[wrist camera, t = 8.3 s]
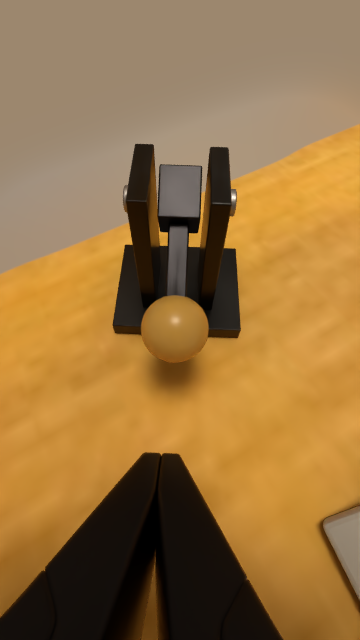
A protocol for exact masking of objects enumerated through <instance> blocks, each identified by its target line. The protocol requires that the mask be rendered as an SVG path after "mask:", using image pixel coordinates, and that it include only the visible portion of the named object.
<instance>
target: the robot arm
mask: <svg viewBox="0 0 360 640" xmlns="http://www.w3.org/2000/svg"><path fill="white" fill-rule="evenodd" d="M155 554H156V603H157V633H158V640H283V638H282V636H281V635H280V633H279V632H278V630H277V628H276V627H275V625H274V623H273V621H272V620H271V618H270V616H269V615H268V613H267V611H266V610H265V608H264V606H263V604H262V603H261V601H260V599H259V597H258V596H257V594H256V592H255V590H254V588H253V587H252V585H251V583H250V581H249V580H246V579H247V576H246V574H245V572H244V571H243V569H242V567H241V565H240V563H239V562H238V560H237V558H236V556H235V554H234V553H233V551H232V549H231V547H230V545H229V543H228V542H227V540H226V538H225V536H224V534H223V533H222V531H221V529H220V527H219V525H218V524H217V522H216V520H215V518H214V516H213V514H212V513H211V511H210V509H209V507H208V505H207V504H206V502H205V500H204V498H203V496H202V495H201V493H200V491H199V489H198V487H197V485H196V484H195V482H194V480H193V478H192V476H191V475H190V473H189V471H188V469H187V467H186V466H185V464H184V462H183V460H182V458H181V457H180V455H179V454H172V453H164V454H162V456H161V454H160V453H147V452H146V453H143V454H142V455H141V456H140V458H139V459H138V460H137V461H136V462H135V463H134V465H133V466H132V467H131V468H130V469H129V470H128V472H127V473H126V474H125V475H124V476H123V477H122V479H121V480H120V481H119V482H118V483H117V484H116V485H115V487H114V488H113V489H112V490H111V491H110V492H109V494H108V495H107V496H106V497H105V498H104V499H103V501H102V502H101V503H100V504H99V505H98V506H97V508H96V509H95V510H94V511H93V512H92V513H91V515H90V516H89V517H88V518H87V519H86V520H85V522H84V523H83V524H82V525H81V526H80V527H79V529H78V530H77V531H76V532H75V533H74V534H73V536H72V537H71V538H70V539H69V540H68V541H67V543H66V544H65V545H64V546H63V547H62V548H61V550H60V551H59V552H58V553H57V554H56V555H55V557H54V558H53V559H52V560H51V561H50V562H49V564H48V565H47V566H46V567H45V571H41V572H40V574H39V575H38V576H37V577H36V578H35V580H34V581H33V582H32V583H31V584H30V585H29V587H28V588H27V589H26V590H25V591H24V592H23V593H22V594H21V596H20V597H19V598H18V599H17V600H16V601H15V602H14V603H13V604H12V606H11V607H10V608H9V609H8V610H7V611H6V612H5V613H4V614H3V616H2V617H1V618H0V640H141V636H142V630H143V625H144V619H145V614H146V608H147V603H148V598H149V592H150V587H151V581H152V576H153V570H154V563H155Z"/></svg>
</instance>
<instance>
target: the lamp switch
mask: <svg viewBox="0 0 360 640" xmlns="http://www.w3.org/2000/svg"><path fill="white" fill-rule="evenodd" d="M201 186H202V166H190V165H189V166H188V165H162V164H161V165H160V167H159V190H158V213H157V217H158V222H159V227H160V232H168V249H167V273H166V296H165V297H162V298H160V299H158V300H156V301H155V302H154V303H152V304H151V305H150V306H149V308H148V309H147V310H146V312H145V314H144V316H143V319H142V323H141V334H142V338H143V341H144V344H145V345H146V347H147V349H148V350H149V351H150V352H151V353H152V354H153V355H154V356H156V357H157V358H159V359H161V360H163V361H167V362H183V361H186V360H189V359H191V358H192V357H194V356H195V355H197V354H198V353H199V352H200V351H201V349H202V348H203V347H204V345H205V343H206V340H207V337H208V331H209V325H208V320H207V317H206V315H205V312H204V311H203V309H202V308H201V307H200V306H199V305H198V304H197V303H196V302H195V301H193V300H192V299H190V298H188V297H186V296H187V269H188V243H189V233H198V229H199V223H200V214H201Z"/></svg>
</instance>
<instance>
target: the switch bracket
mask: <svg viewBox="0 0 360 640" xmlns="http://www.w3.org/2000/svg"><path fill="white" fill-rule="evenodd" d="M236 202H237V192H236V189H231V181H230V164H229V150H228V148H227V147H211V148H210V153H209V163H208V174H207V183H206V193H205V203H204V213H203V224H202V234H201V244H200V247H188V269H187V296H186V297H188V298H190V299H192V300H193V301H195V302H196V303H197V304H198V305H199V306H200V307H201V308H202V309H203V311H204V312H205V315H206V317H207V320H208V325H209V331H208V337H233V338H238V336H239V333H240V330H241V328H240V312H239V296H238V280H237V264H236V249H230V248H224V243H225V238H226V233H227V228H228V223H229V217H230V216H234V214H235V210H236ZM123 205H124V210H125V212H127V213H128V219H129V225H130V231H131V237H132V243H133V245H125V249H124V255H123V262H122V268H121V274H120V281H119V287H118V294H117V300H116V307H115V313H114V319H113V328H114V331H115V333H129V334H141V323H142V319H143V316H144V314H145V312H146V310H147V309H148V308H149V306H150V305H151V304H152V303H154V302H155V301H156V300H158V299H160V298H162V297H165V296H166V273H167V249H168V246H160V243H159V226H158V217H157V213H158V209H157V193H156V176H155V160H154V145H153V144H135V148H134V154H133V160H132V166H131V172H130V177H129V184H128V185H125V187H124V191H123Z"/></svg>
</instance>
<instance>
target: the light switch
mask: <svg viewBox="0 0 360 640" xmlns="http://www.w3.org/2000/svg"><path fill="white" fill-rule="evenodd" d="M323 529H324V531H325V533H326V535H327V537H328V539H329V541H330V543H331V545H332V547H333V549H334V551H335V553H336V555H337V557H338V559H339V561H340V563H341V565H342V567H343V569H344V571H345V573H346V575H347V577H348V579H349V581H350V583H351V585H352V587H353V589H354V591H355V593H356V595H357V597H358V599H359V601H360V506H357V507H354V508H352V509H349V510H346V511H344V512H341V513H338V514H336V515H333V516H330V517H327V518H326V519H325V520H324V522H323Z"/></svg>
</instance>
